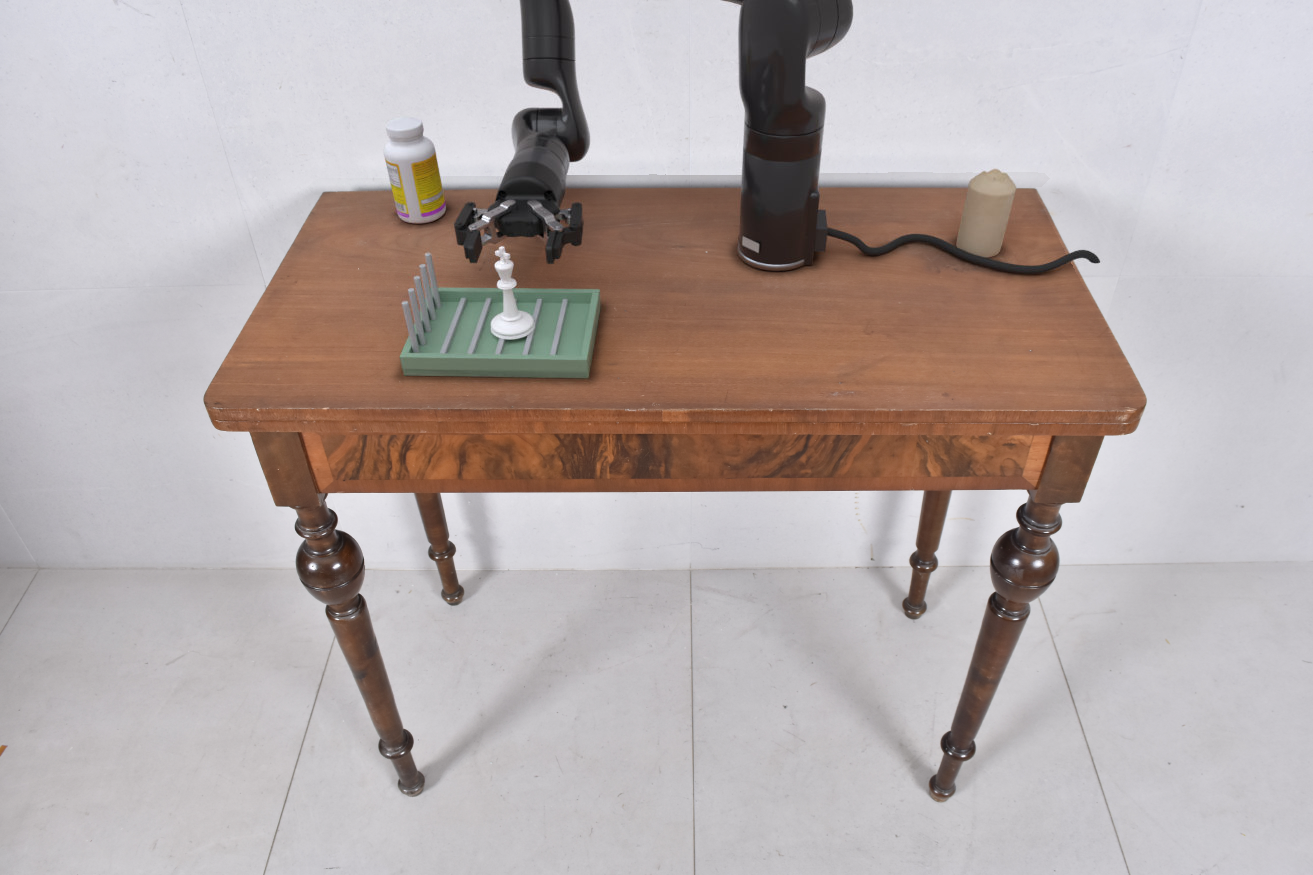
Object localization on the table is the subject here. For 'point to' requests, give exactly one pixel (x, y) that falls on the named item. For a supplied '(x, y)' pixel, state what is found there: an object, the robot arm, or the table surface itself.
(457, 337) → the dish rack
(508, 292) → the chess piece
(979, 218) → the candle
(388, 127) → the supplement bottle
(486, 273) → the table surface
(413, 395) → the table surface
